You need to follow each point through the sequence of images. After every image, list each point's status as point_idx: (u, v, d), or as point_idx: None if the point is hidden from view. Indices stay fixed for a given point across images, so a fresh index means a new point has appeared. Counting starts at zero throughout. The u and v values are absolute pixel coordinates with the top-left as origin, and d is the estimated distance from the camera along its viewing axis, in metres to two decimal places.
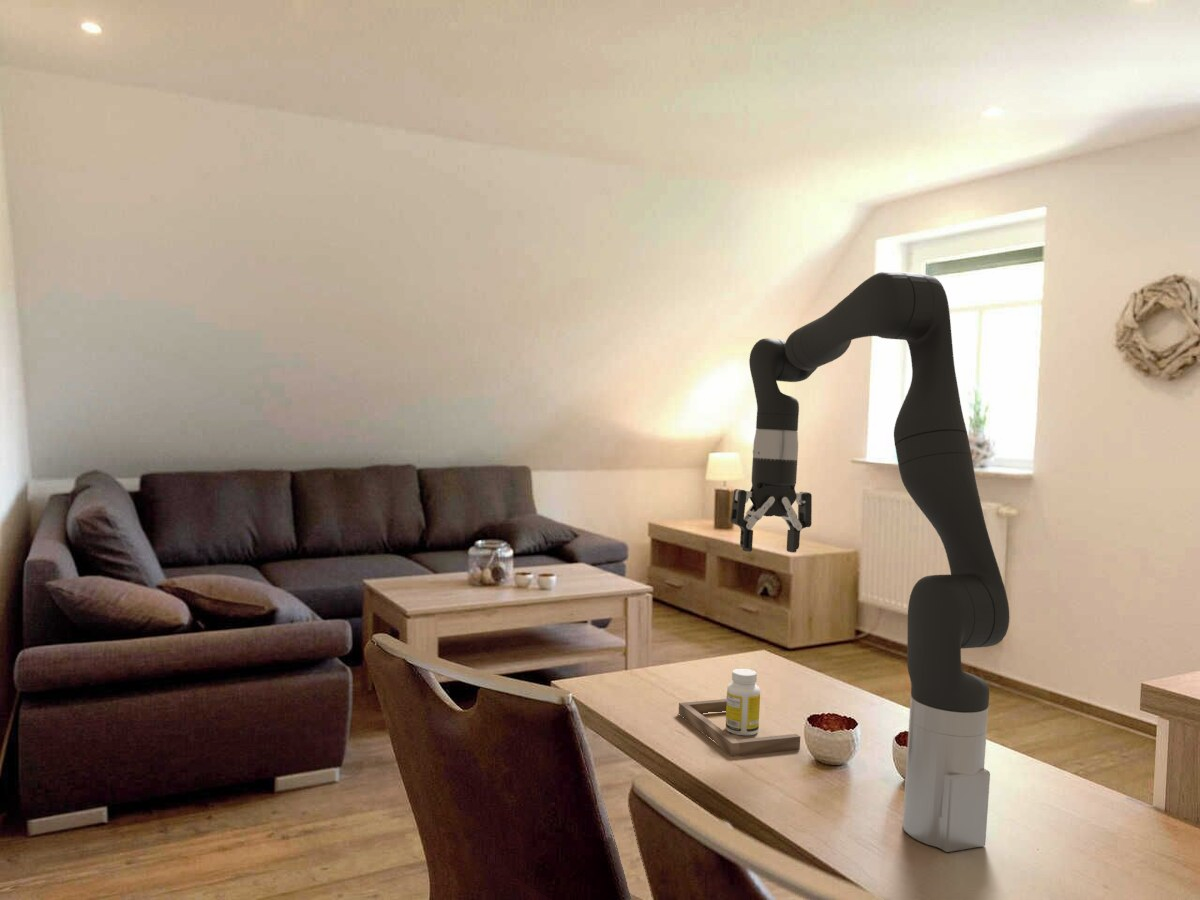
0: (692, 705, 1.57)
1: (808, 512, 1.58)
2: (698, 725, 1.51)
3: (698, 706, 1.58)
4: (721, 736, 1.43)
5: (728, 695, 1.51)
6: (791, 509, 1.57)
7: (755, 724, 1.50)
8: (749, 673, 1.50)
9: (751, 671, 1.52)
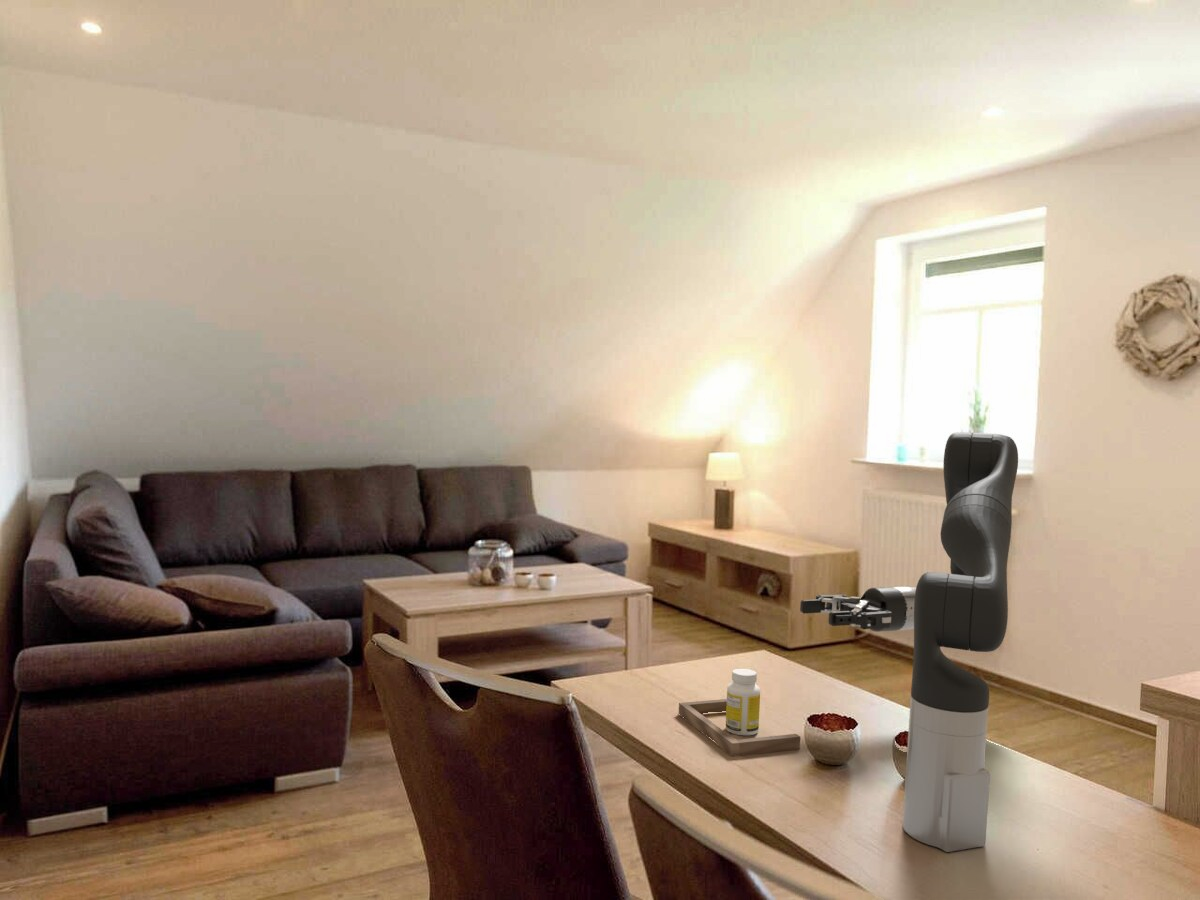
0: (692, 705, 1.57)
1: (874, 613, 1.51)
2: (698, 725, 1.51)
3: (698, 706, 1.58)
4: (721, 736, 1.43)
5: (728, 695, 1.51)
6: (863, 604, 1.55)
7: (755, 724, 1.50)
8: (749, 673, 1.50)
9: (751, 671, 1.52)
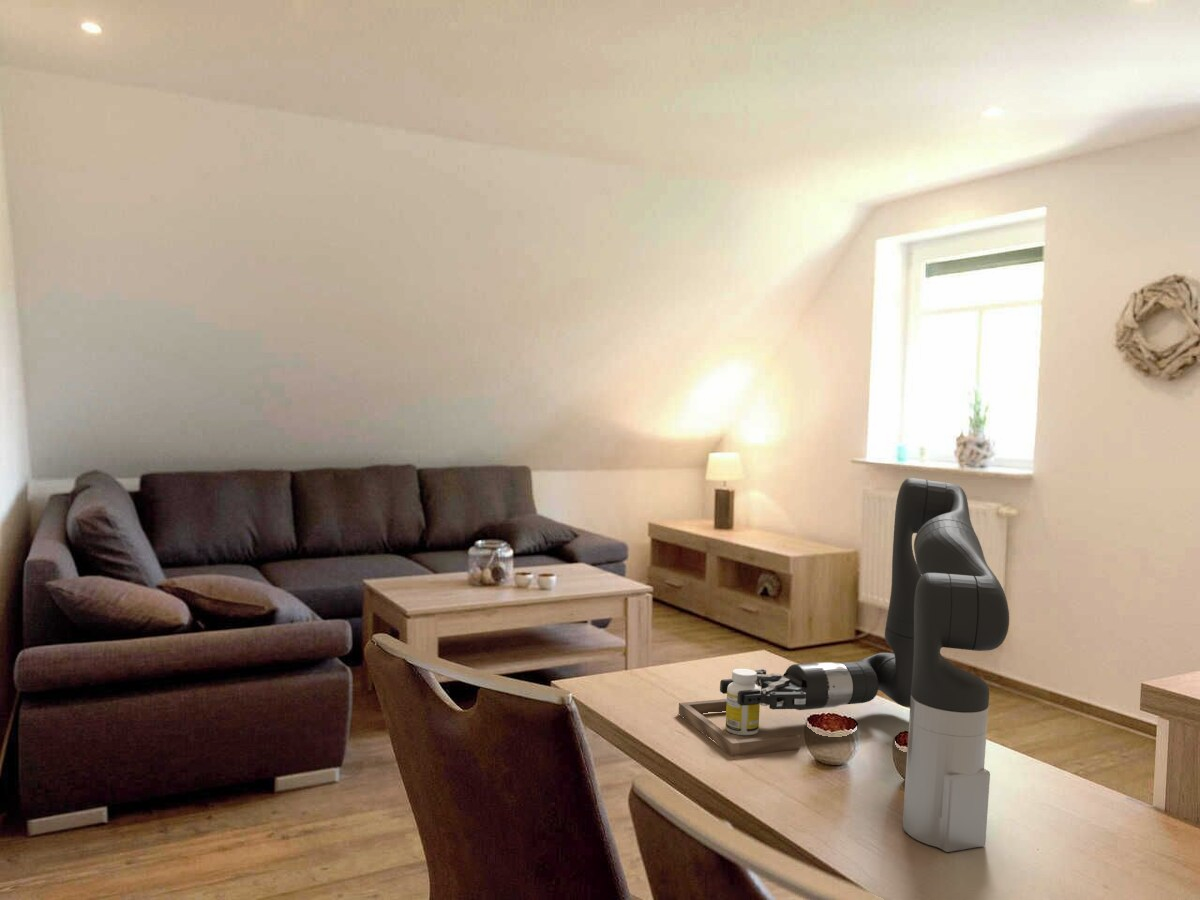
0: (692, 705, 1.57)
1: (785, 693, 1.47)
2: (698, 725, 1.51)
3: (698, 706, 1.58)
4: (721, 736, 1.43)
5: (728, 695, 1.51)
6: (779, 683, 1.51)
7: (755, 724, 1.50)
8: (749, 673, 1.50)
9: (751, 671, 1.52)
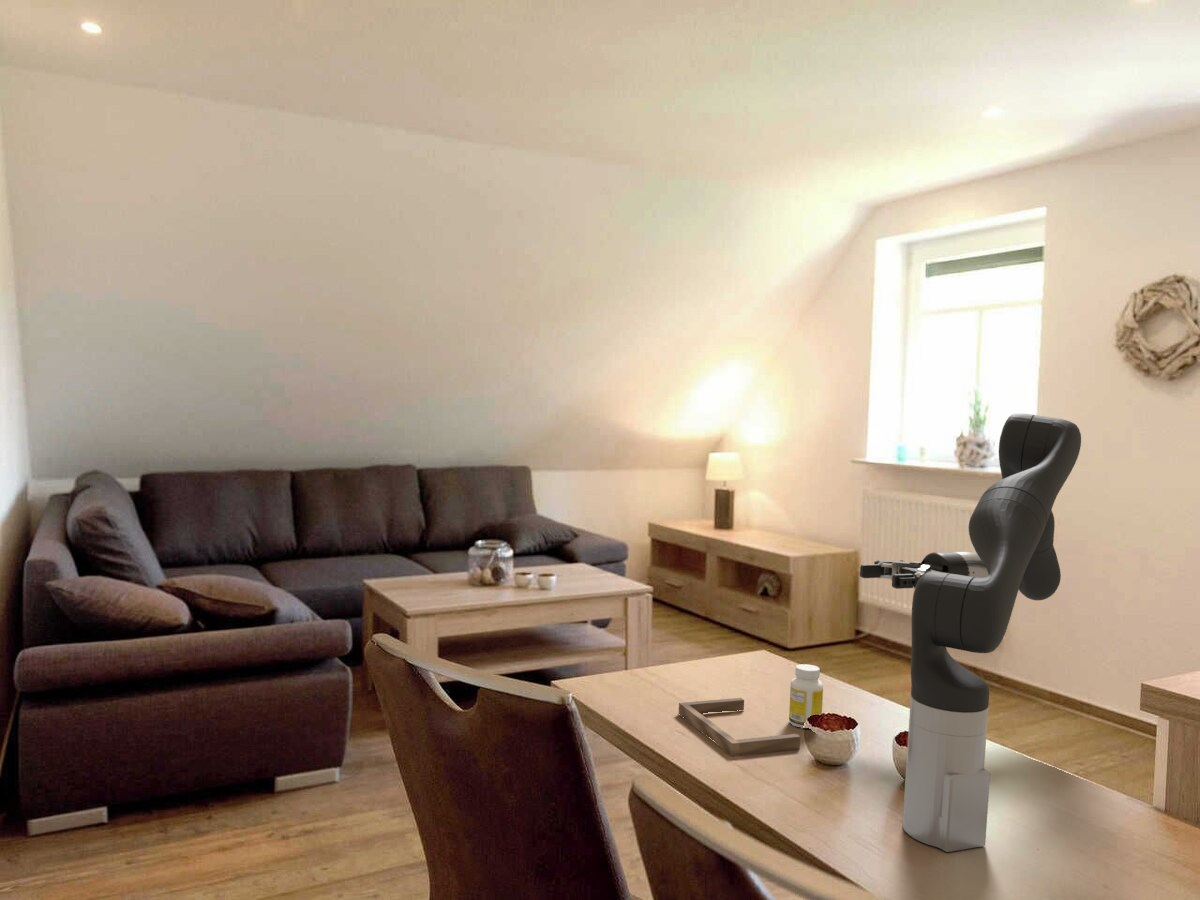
0: (692, 705, 1.57)
1: None
2: (698, 725, 1.51)
3: (698, 706, 1.58)
4: (721, 736, 1.43)
5: (792, 690, 1.55)
6: (925, 568, 1.53)
7: None
8: (812, 668, 1.55)
9: (814, 666, 1.56)
